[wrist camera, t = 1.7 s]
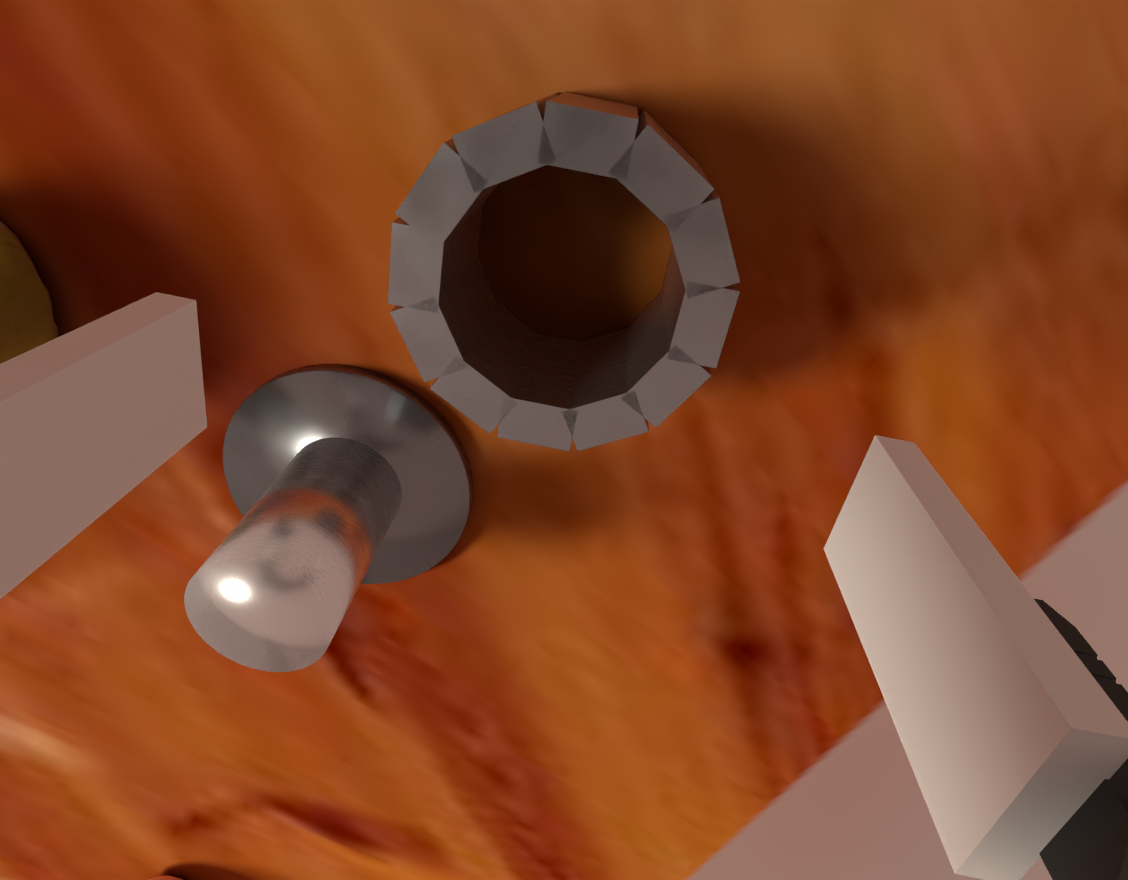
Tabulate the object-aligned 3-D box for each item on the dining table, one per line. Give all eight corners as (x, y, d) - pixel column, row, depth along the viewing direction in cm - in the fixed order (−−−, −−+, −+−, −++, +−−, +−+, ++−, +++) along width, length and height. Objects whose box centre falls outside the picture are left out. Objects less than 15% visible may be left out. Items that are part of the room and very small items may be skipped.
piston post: (223, 341, 28) (66, 449, 20) (486, 392, 28) (431, 520, 20) (239, 549, 34) (120, 697, 26) (460, 591, 34) (408, 752, 26)
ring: (452, 69, 23) (399, 71, 17) (748, 128, 23) (784, 148, 18) (429, 347, 28) (382, 414, 22) (673, 395, 28) (683, 473, 22)
